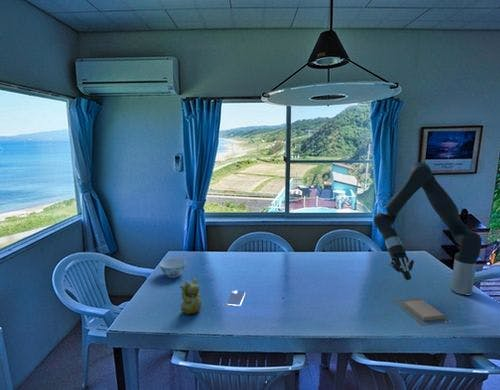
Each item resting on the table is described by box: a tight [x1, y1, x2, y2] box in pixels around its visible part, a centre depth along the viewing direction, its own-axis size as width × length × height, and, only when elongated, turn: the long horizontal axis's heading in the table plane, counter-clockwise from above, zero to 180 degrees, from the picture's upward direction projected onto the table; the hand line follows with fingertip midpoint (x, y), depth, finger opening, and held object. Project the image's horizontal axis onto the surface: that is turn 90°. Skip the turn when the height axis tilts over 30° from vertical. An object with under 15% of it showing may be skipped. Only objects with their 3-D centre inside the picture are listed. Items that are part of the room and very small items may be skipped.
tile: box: [404, 299, 445, 321], centre depth 141 cm, size 2×10×13 cm
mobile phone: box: [225, 289, 247, 308], centre depth 154 cm, size 8×1×15 cm
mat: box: [390, 296, 454, 326], centre depth 142 cm, size 22×16×1 cm
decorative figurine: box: [179, 277, 202, 316], centre depth 140 cm, size 10×8×15 cm
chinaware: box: [159, 257, 187, 279], centre depth 179 cm, size 15×15×8 cm
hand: (408, 279), depth 150 cm, fingers closed
